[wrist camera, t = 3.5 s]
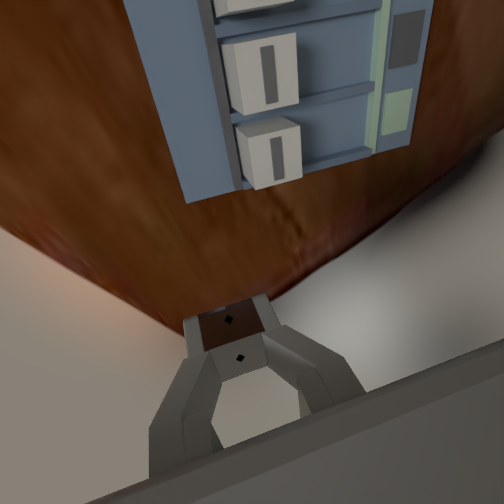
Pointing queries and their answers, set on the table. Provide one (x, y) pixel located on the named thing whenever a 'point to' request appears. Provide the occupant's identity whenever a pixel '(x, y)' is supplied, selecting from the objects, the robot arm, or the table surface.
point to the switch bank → (309, 80)
